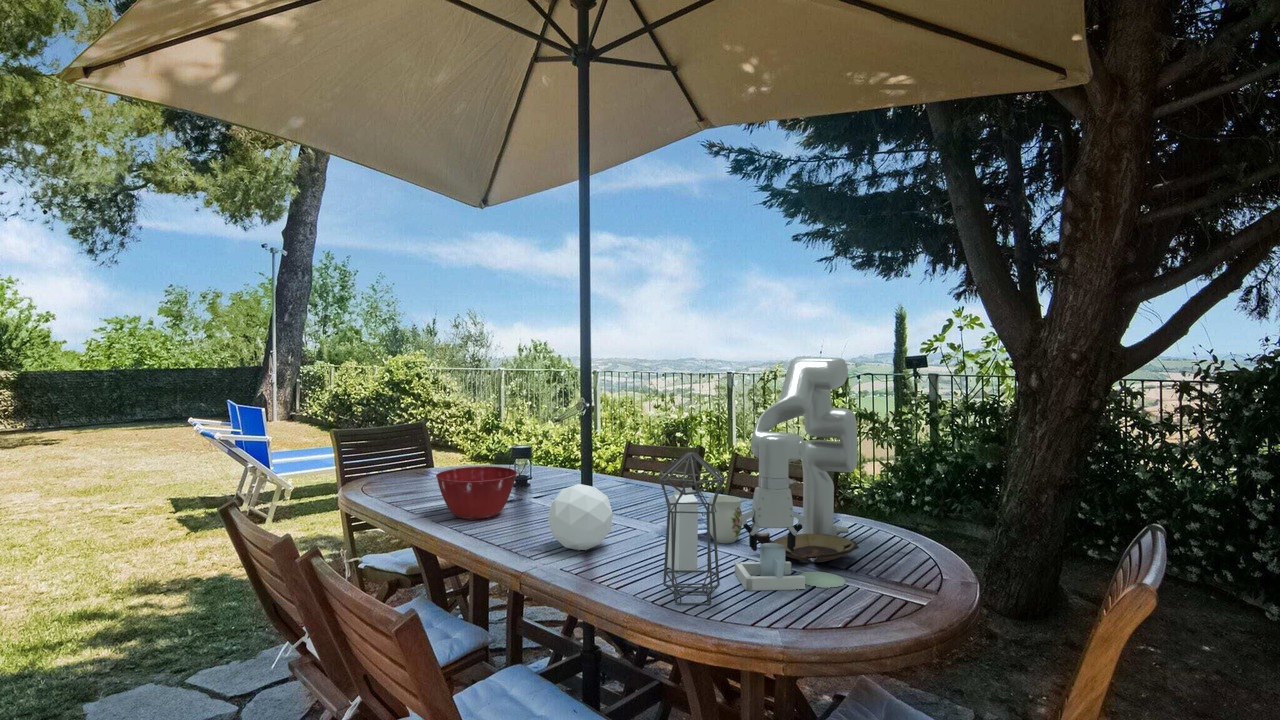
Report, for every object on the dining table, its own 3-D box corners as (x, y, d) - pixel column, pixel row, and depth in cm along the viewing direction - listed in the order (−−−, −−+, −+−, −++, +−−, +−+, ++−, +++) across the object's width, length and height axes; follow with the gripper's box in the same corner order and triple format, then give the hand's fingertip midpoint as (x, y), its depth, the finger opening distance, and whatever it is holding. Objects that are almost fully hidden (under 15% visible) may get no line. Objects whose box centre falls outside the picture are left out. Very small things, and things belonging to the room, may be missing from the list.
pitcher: (752, 535, 213) (753, 493, 213) (730, 549, 198) (730, 503, 198) (721, 530, 219) (722, 489, 219) (697, 543, 204) (698, 499, 204)
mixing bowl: (474, 529, 217) (474, 483, 217) (418, 517, 233) (418, 474, 233) (532, 513, 241) (533, 471, 241) (478, 503, 257) (478, 463, 256)
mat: (835, 572, 177) (835, 571, 177) (852, 588, 165) (852, 586, 165) (791, 573, 177) (791, 572, 177) (806, 588, 165) (806, 587, 165)
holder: (789, 572, 177) (789, 561, 177) (805, 589, 164) (805, 577, 164) (734, 573, 176) (734, 562, 176) (746, 590, 163) (746, 578, 163)
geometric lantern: (659, 609, 150) (658, 456, 151) (660, 587, 166) (659, 448, 166) (728, 610, 149) (727, 456, 150) (722, 588, 165) (722, 448, 166)
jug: (757, 577, 173) (757, 543, 173) (780, 576, 173) (781, 542, 173) (767, 590, 163) (767, 554, 163) (792, 589, 164) (792, 553, 164)
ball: (586, 565, 203) (614, 507, 212) (601, 559, 185) (631, 497, 194) (532, 535, 202) (562, 478, 211) (542, 527, 184) (575, 466, 193)
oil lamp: (848, 577, 174) (848, 548, 174) (741, 559, 189) (741, 532, 189) (864, 555, 193) (865, 529, 193) (766, 540, 208) (766, 516, 208)
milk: (697, 570, 178) (699, 489, 178) (678, 573, 175) (680, 491, 175) (685, 564, 183) (686, 485, 183) (666, 567, 180) (668, 487, 180)
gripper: (801, 481, 174) (800, 545, 174) (737, 480, 173) (735, 545, 173) (810, 486, 167) (809, 553, 166) (743, 485, 165) (742, 553, 165)
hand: (772, 549), depth 169 cm, fingers open, 9 cm apart
